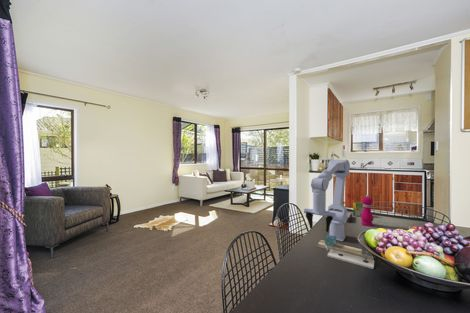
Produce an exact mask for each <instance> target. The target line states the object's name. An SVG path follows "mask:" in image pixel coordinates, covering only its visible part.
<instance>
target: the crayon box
mask: <svg viewBox="0 0 470 313" xmlns="http://www.w3.org/2000/svg"><path fill="white" fill-rule="evenodd" d="M352 205H353V206H352V208H353V210H352V216H354V217H361V214H362V213H363V210H364V206H363V202H362V200H355V202H353V203H352Z"/></svg>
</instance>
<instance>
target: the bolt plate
mask: <svg viewBox="0 0 470 313" xmlns="http://www.w3.org/2000/svg"><path fill="white" fill-rule="evenodd" d="M326 256H327V257H328V258H332V259H336V260H339V261H342V262H346V263H350V264H354V265H356V266H357V265H358V266H360V267H364V268H367V269H372V270H374V268H375V260H374V259H373V260H371V259H367V261H365V258H364V257H360V256H356V255H352V254H348V253H344V252H340V251H336V250H332V249H331V250H328V252H327V255H326Z"/></svg>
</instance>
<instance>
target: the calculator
mask: <svg viewBox="0 0 470 313" xmlns="http://www.w3.org/2000/svg"><path fill="white" fill-rule="evenodd" d="M347 215H348V218H347V222H346V223H351V220H352V218H353V213H352V212H347Z"/></svg>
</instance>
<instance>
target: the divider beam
mask: <svg viewBox="0 0 470 313" xmlns="http://www.w3.org/2000/svg"><path fill="white" fill-rule="evenodd" d="M317 247H318V248H322V249H325V250H326V245H325V239H324V240H322V239H320V240H319V242H318V243H317ZM331 249H332V250H336V251H340V252H344V253H348V254H352V255H356V256H360V257H364V258H365V261H367V259H371V260H374V257H375V256H374V257H373V256H372V255H371V254H370V253H368V252H367V251H366V250H365V249H364V248H363V247H362V246H361V248H357V247H353V246H349V245H344V244H340V243H338V242H336V244H335V245H334V247H333V246H328V251H330V250H331Z"/></svg>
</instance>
